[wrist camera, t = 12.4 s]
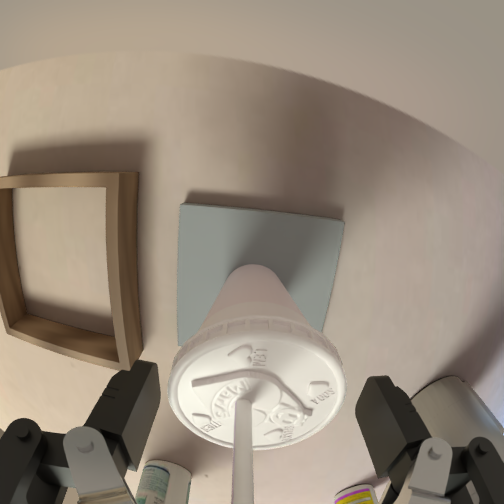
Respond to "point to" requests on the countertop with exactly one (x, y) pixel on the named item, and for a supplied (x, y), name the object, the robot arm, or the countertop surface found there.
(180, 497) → the spray can
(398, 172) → the countertop surface
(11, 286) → the frame
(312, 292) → the mat
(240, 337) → the smoothie
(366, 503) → the supplement bottle
